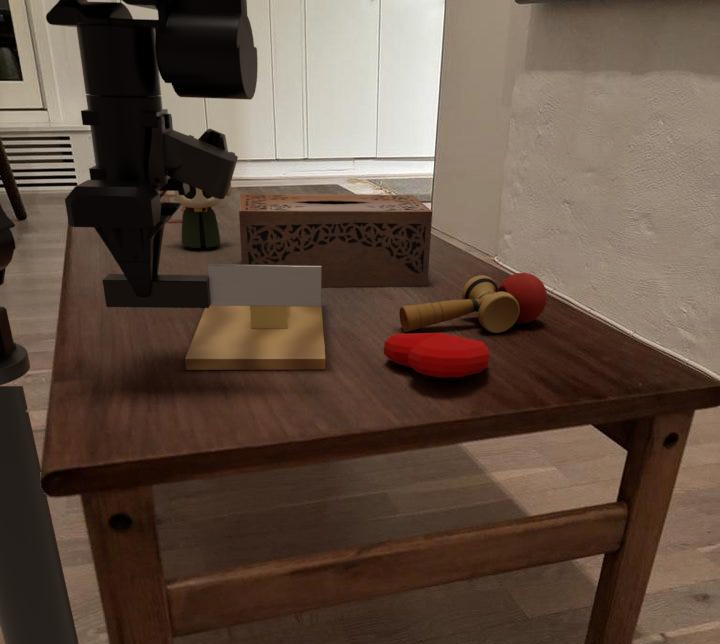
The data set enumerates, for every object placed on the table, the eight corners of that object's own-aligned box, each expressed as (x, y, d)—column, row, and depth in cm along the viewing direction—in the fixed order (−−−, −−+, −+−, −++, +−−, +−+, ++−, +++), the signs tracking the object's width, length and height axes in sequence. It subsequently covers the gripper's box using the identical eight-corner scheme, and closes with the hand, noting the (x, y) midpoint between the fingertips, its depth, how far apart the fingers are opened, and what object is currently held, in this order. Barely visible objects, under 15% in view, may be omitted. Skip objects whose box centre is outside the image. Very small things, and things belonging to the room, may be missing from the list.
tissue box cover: (243, 287, 101) (239, 211, 96) (244, 262, 113) (240, 193, 108) (427, 285, 104) (432, 211, 99) (408, 261, 117) (412, 194, 112)
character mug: (169, 253, 118) (160, 165, 111) (166, 243, 124) (158, 160, 117) (237, 250, 120) (232, 164, 114) (231, 241, 126) (226, 159, 120)
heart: (458, 364, 82) (375, 365, 78) (462, 325, 80) (378, 324, 77) (518, 386, 71) (426, 388, 67) (524, 342, 70) (430, 341, 66)
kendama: (419, 355, 83) (562, 322, 86) (411, 298, 81) (558, 267, 84) (397, 344, 90) (530, 314, 94) (389, 292, 88) (526, 263, 91)
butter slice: (251, 328, 82) (250, 302, 80) (252, 321, 84) (251, 295, 83) (287, 328, 82) (286, 302, 81) (287, 321, 84) (287, 295, 83)
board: (185, 370, 74) (184, 358, 73) (209, 306, 93) (209, 297, 92) (325, 369, 75) (325, 358, 74) (320, 307, 94) (320, 297, 93)
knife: (106, 307, 65) (100, 265, 63) (112, 300, 67) (106, 259, 65) (321, 309, 66) (321, 269, 64) (321, 302, 68) (321, 263, 66)
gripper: (212, 104, 50) (226, 326, 58) (238, 94, 67) (246, 268, 74) (45, 100, 50) (82, 325, 57) (113, 90, 66) (134, 267, 74)
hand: (147, 292), depth 66 cm, fingers closed on knife, 2 cm apart
